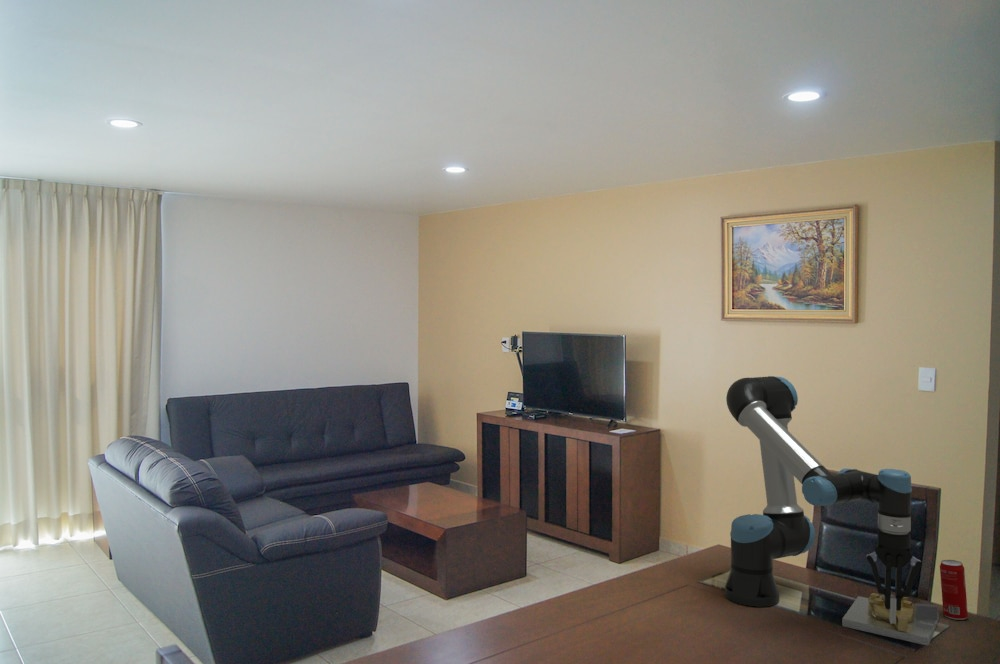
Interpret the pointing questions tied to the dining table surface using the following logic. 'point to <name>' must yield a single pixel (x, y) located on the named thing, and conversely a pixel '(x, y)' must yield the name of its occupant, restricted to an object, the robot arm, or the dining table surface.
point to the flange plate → (917, 629)
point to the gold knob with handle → (879, 611)
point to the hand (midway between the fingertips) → (892, 621)
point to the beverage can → (953, 589)
